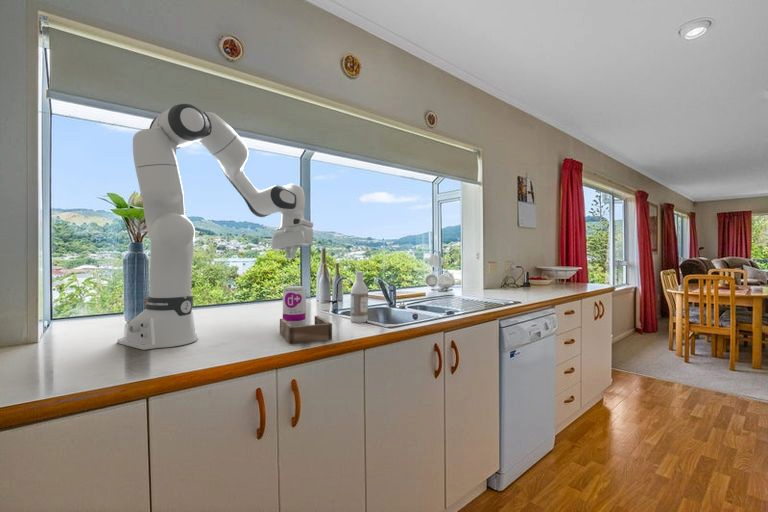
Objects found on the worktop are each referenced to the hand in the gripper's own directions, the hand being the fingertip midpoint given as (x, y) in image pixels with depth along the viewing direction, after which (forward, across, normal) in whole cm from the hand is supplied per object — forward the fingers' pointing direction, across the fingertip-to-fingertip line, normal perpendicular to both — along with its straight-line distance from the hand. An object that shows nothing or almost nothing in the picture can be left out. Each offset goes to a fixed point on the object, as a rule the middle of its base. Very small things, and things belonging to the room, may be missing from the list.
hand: (290, 258), depth 143 cm
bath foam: (+24, +16, +23) cm, 37 cm away
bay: (+29, +16, -6) cm, 34 cm away
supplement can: (+26, +4, 0) cm, 27 cm away
